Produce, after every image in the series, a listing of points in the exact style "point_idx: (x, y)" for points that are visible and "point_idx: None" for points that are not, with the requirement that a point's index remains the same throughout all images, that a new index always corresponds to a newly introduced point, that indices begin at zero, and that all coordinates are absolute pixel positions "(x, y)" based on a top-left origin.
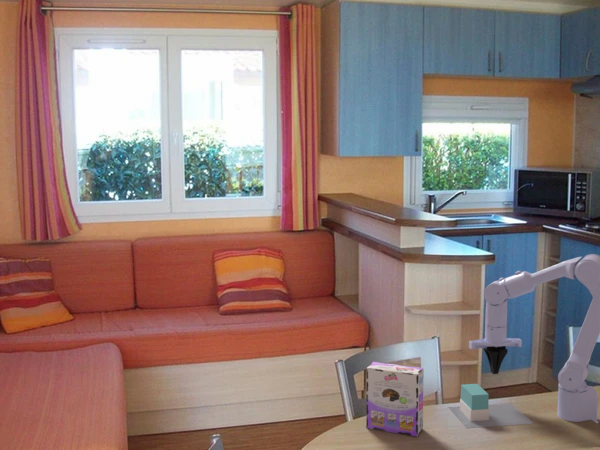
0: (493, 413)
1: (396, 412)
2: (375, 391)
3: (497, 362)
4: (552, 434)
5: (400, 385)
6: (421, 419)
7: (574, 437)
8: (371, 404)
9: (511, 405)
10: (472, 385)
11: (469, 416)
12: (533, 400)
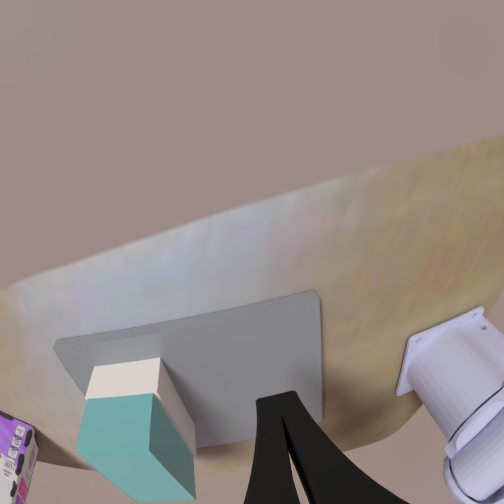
0: (218, 390)
1: None
2: None
3: (308, 500)
4: (343, 429)
5: None
6: (29, 459)
7: (378, 427)
8: None
9: (313, 319)
10: (128, 460)
11: None
12: (424, 213)
